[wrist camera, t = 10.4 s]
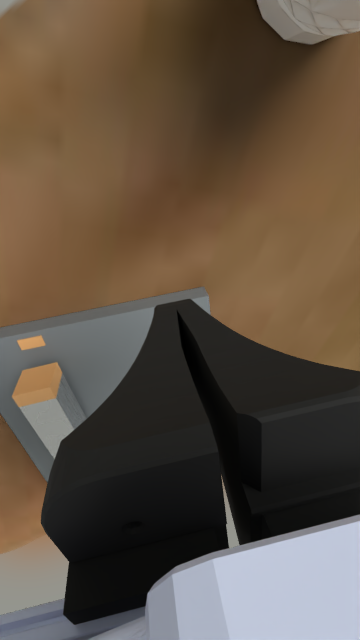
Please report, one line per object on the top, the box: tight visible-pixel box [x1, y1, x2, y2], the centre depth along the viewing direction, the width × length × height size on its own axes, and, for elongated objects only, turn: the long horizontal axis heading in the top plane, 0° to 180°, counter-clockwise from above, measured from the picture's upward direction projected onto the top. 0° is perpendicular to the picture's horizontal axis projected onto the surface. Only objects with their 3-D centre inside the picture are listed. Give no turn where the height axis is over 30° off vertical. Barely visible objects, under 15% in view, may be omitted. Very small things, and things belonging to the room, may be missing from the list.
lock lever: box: [12, 362, 86, 459], centre depth 23 cm, size 12×4×3 cm, turn 10°
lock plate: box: [0, 287, 210, 483], centre depth 24 cm, size 17×16×6 cm
